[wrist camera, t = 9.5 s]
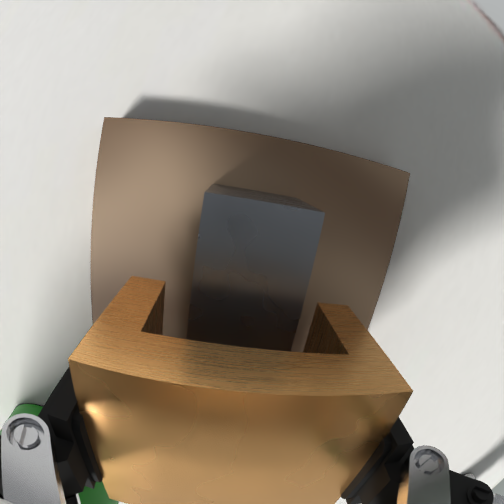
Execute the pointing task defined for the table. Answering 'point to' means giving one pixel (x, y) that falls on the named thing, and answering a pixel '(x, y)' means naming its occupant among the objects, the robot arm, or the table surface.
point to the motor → (91, 500)
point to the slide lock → (230, 408)
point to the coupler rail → (252, 267)
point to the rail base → (243, 176)
